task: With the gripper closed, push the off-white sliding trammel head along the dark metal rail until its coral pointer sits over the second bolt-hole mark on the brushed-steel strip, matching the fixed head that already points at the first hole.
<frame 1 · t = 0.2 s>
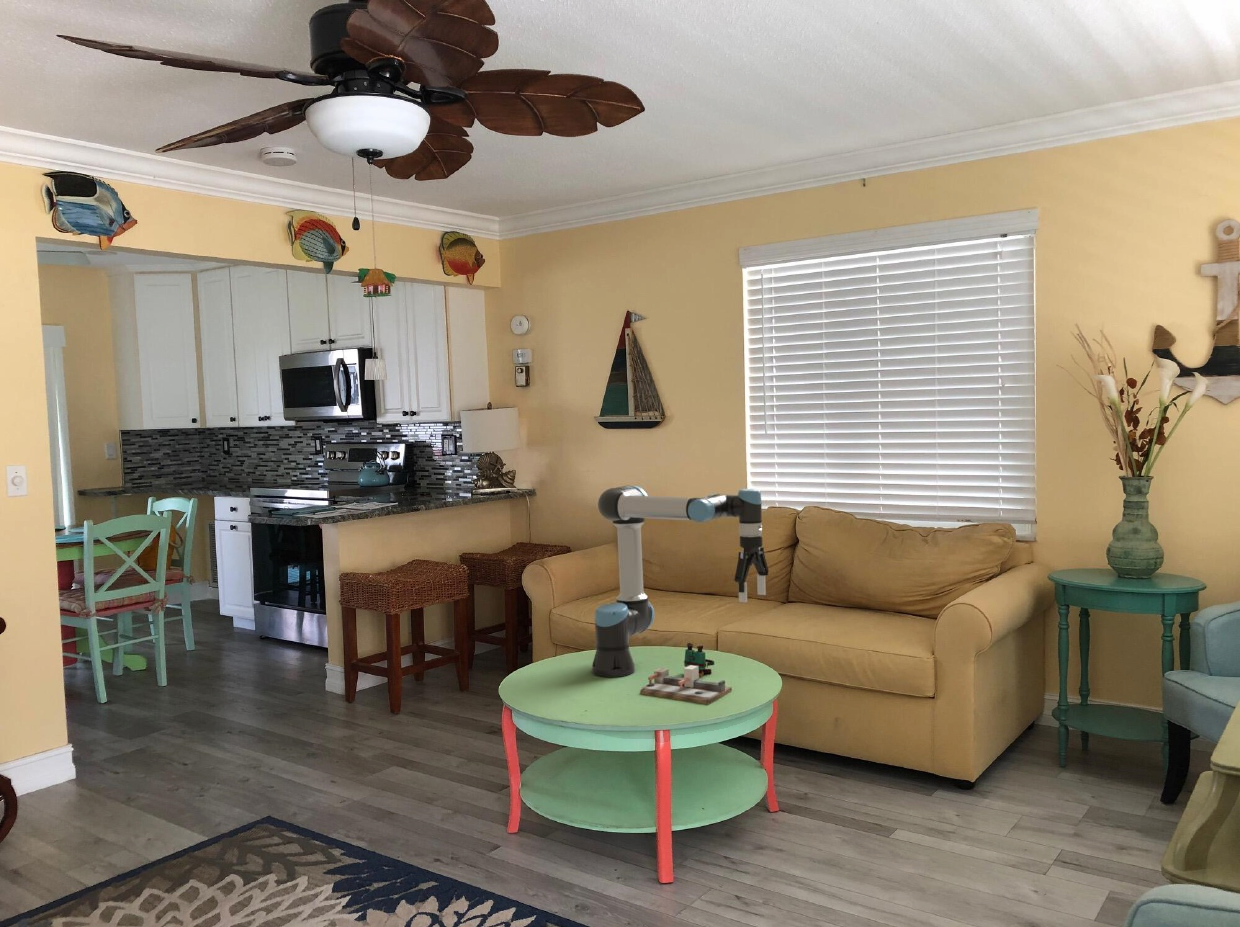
hand: (752, 598, 315), 28 cm above the table, fingers open, 13 cm apart
binoculars: (699, 673, 328), on the table
slider head: (687, 678, 305), point 4 cm above the table, slide at 3.5 cm
gauge: (686, 692, 305), on the table
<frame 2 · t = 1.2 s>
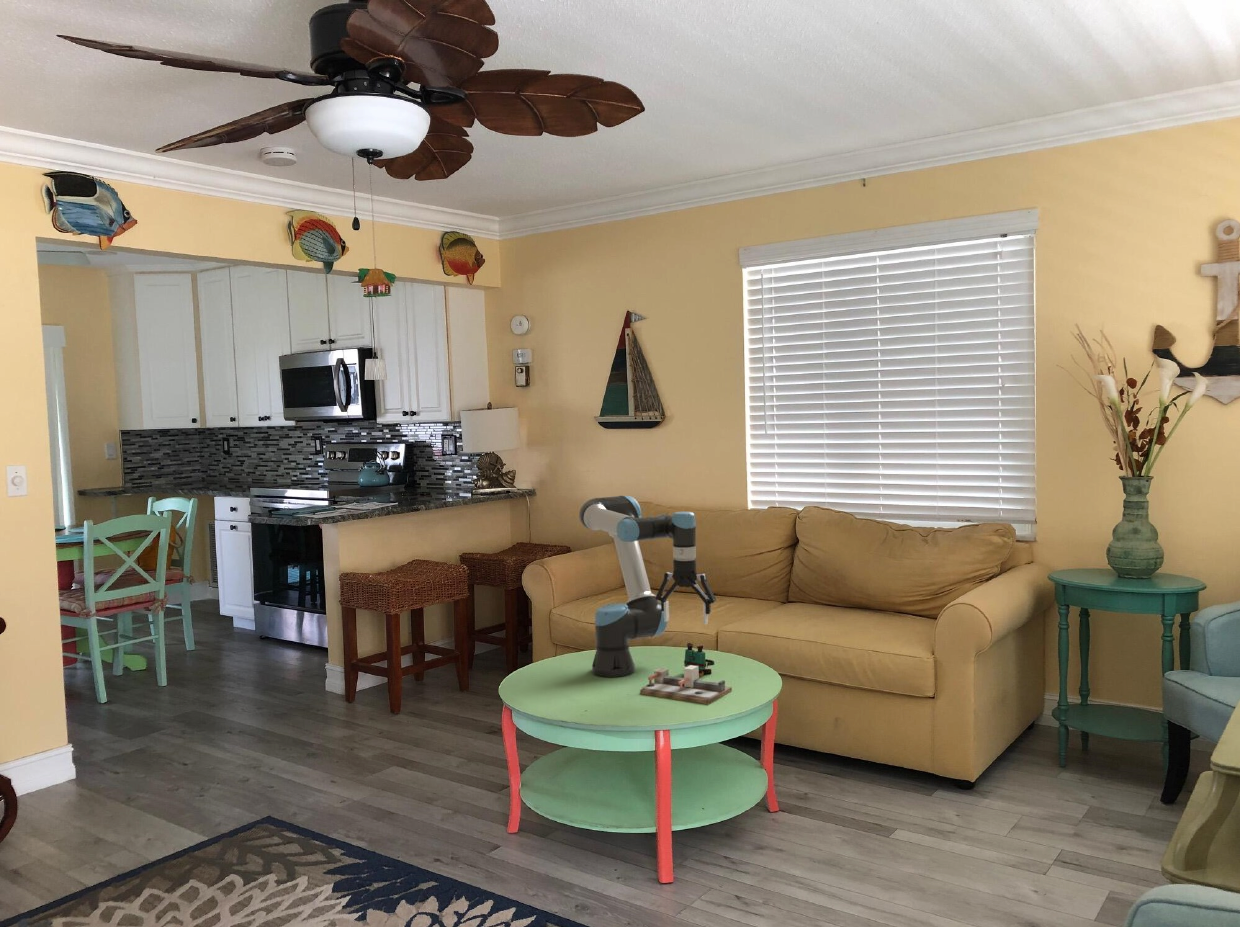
hand: (686, 622, 312), 21 cm above the table, fingers open, 13 cm apart
nothing on the table moved.
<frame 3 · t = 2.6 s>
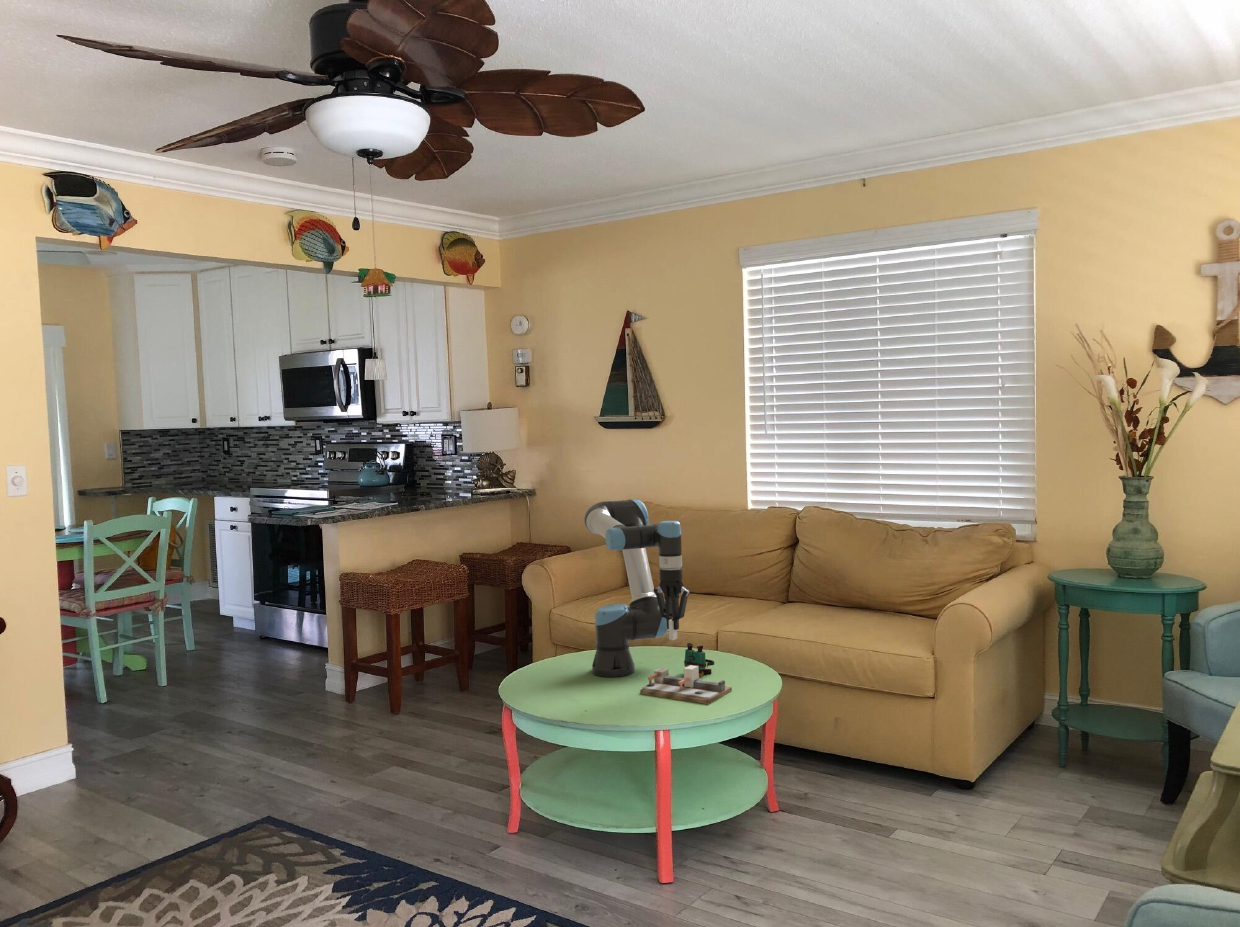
hand: (673, 639, 310), 16 cm above the table, fingers closed
nothing on the table moved.
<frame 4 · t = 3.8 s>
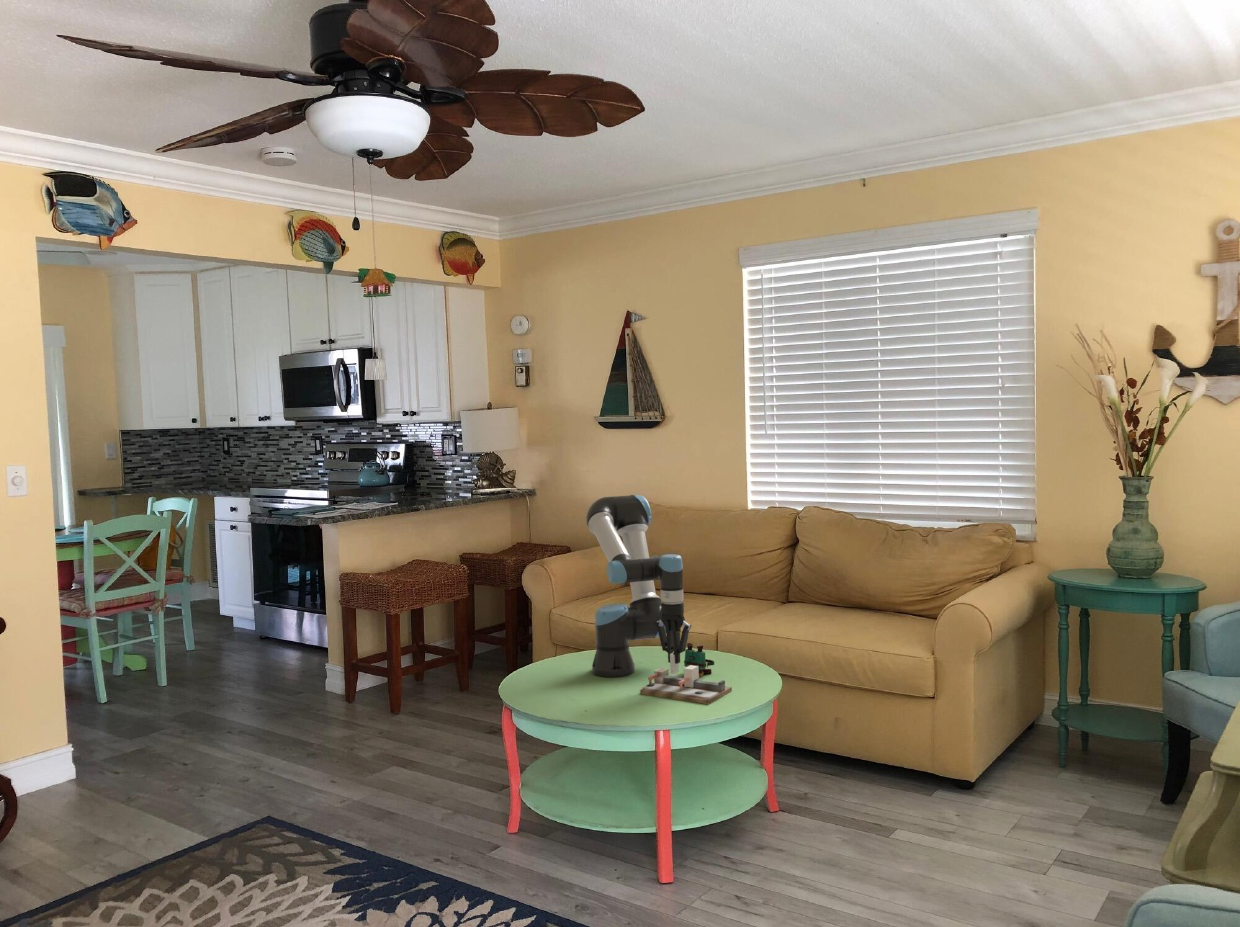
hand: (674, 672, 311), 5 cm above the table, fingers closed
nothing on the table moved.
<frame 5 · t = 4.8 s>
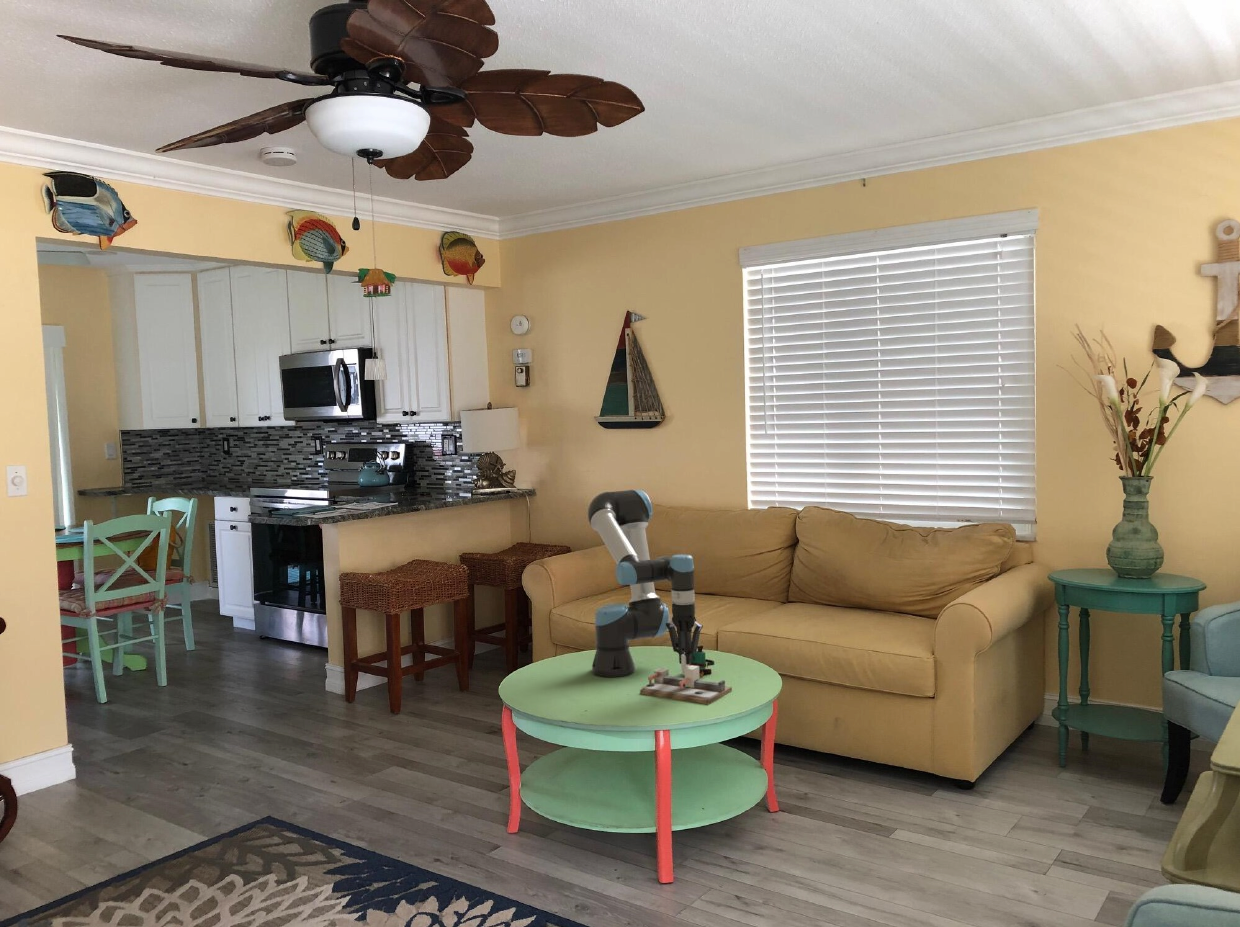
hand: (685, 673, 308), 5 cm above the table, fingers closed
slider head: (688, 678, 305), point 4 cm above the table, slide at 3.8 cm, touching gripper
everything else where it was.
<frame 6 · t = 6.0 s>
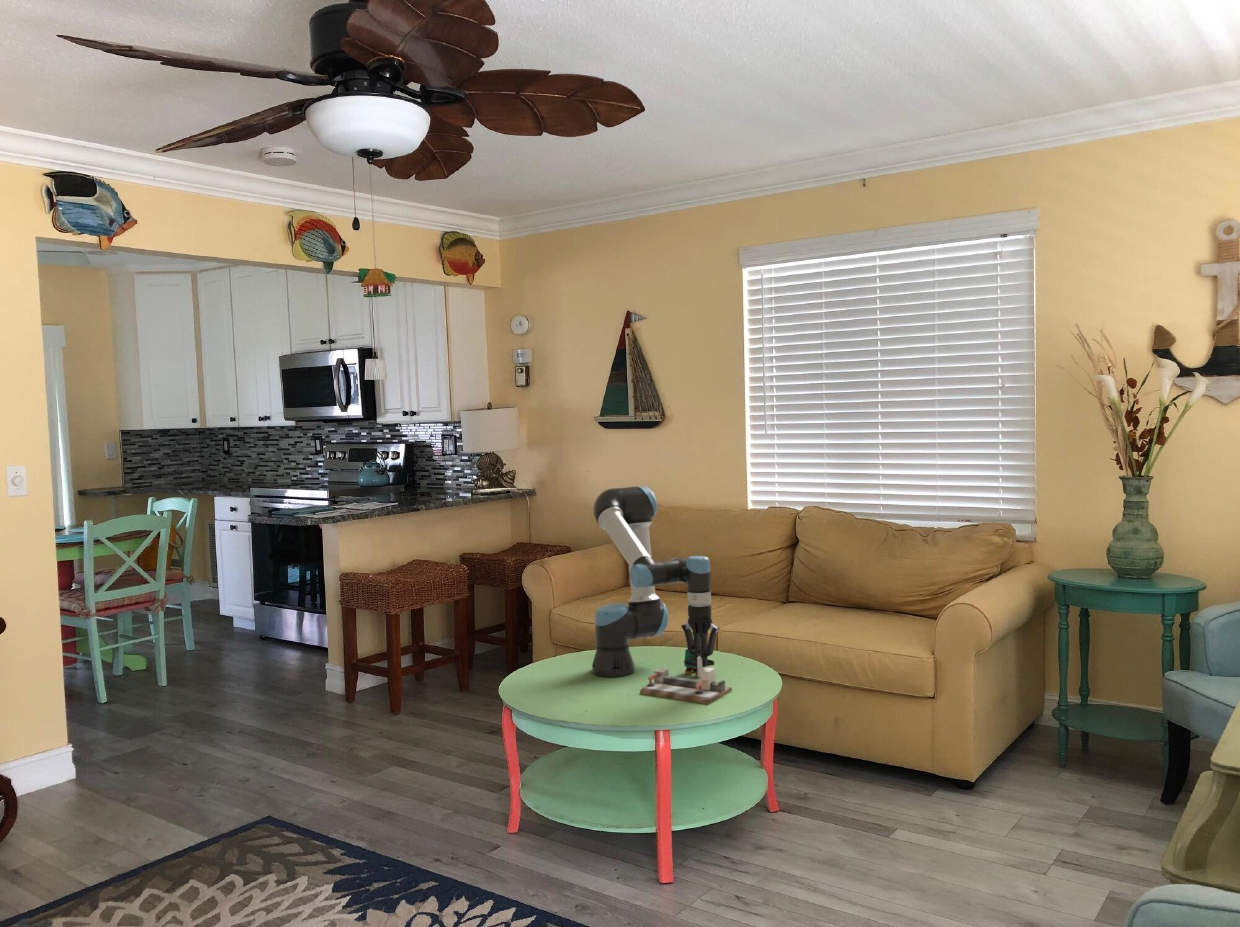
hand: (701, 676, 305), 5 cm above the table, fingers closed
slider head: (704, 680, 302), point 4 cm above the table, slide at 9.6 cm, touching gripper
everything else where it was.
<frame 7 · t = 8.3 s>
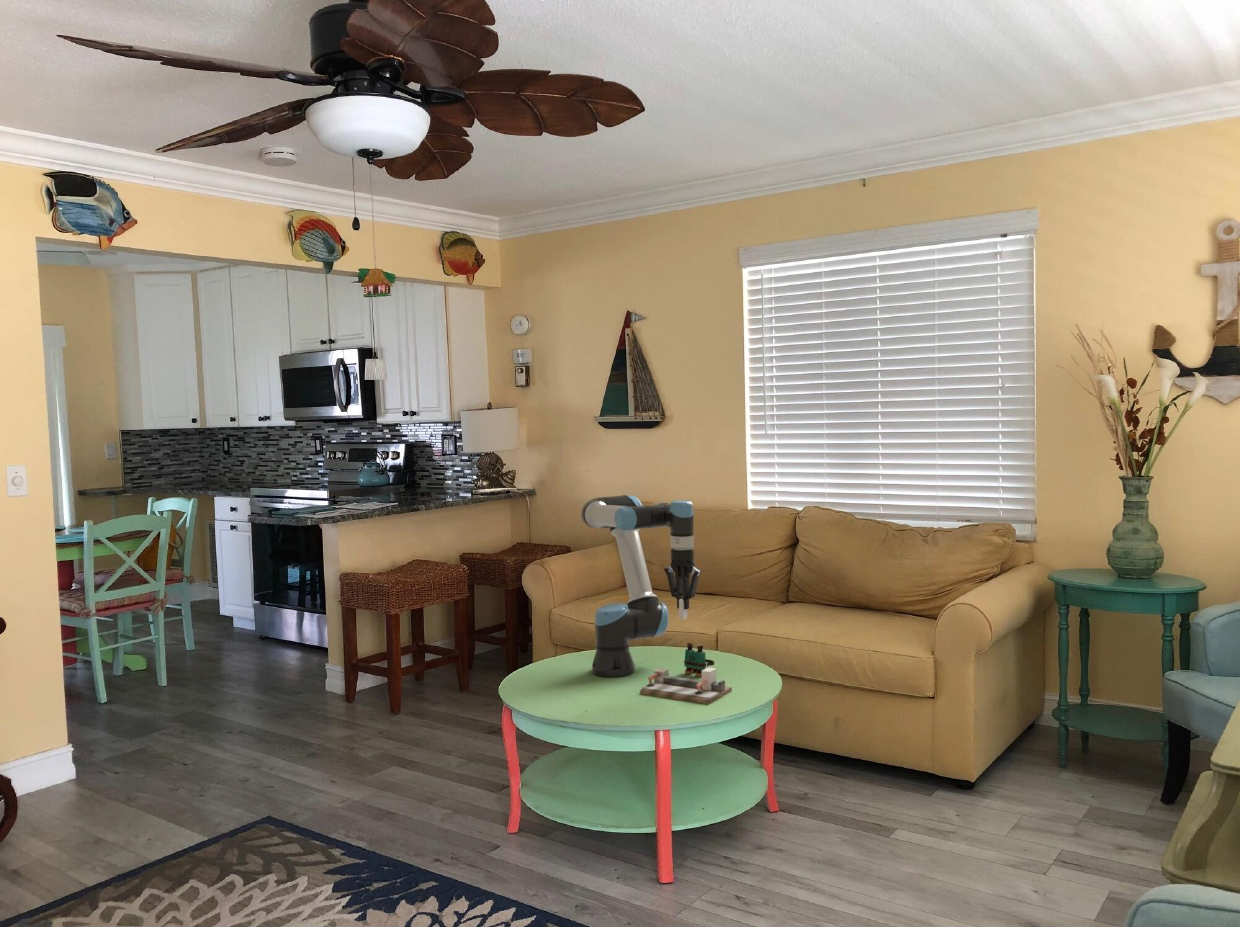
hand: (683, 618, 311), 23 cm above the table, fingers closed
slider head: (705, 681, 302), point 4 cm above the table, slide at 10.0 cm
everything else where it was.
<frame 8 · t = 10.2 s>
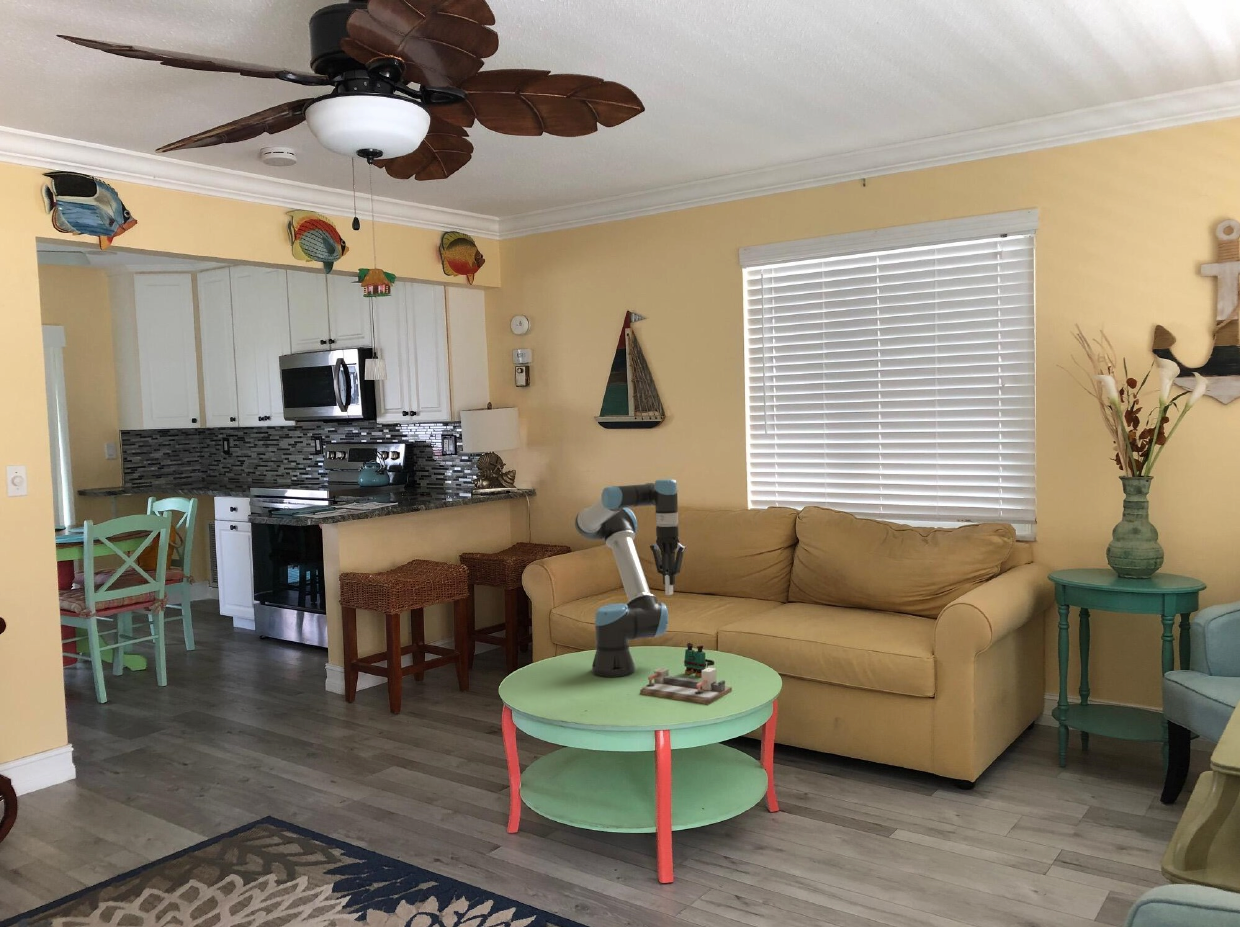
hand: (669, 594, 318), 29 cm above the table, fingers closed
nothing on the table moved.
at the end: slider head slide at 10.0 cm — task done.
